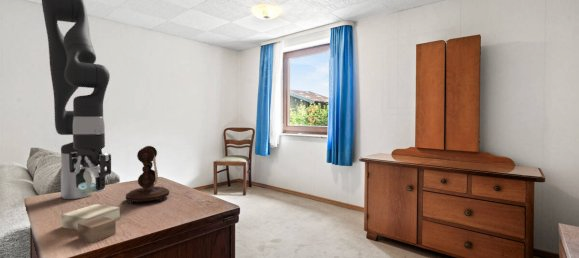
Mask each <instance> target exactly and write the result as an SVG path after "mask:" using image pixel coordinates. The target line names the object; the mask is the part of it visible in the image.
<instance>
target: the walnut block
mask: <svg viewBox="0 0 579 258" xmlns="http://www.w3.org/2000/svg"><path fill="white" fill-rule="evenodd" d="M116 224H117V220H116V221H115V220H114V219H111V218H107V217H103V216H101V217H97V218H94V219H91V220H88V221H84V222H81V223H78V230H77V238H78V239H80V240H83V241H85V242H88V243H94V242H97V241H101V240H102V239H106V238H109V237H110V236H114V235H116V233H117V231H116V230H117V229H116Z"/></svg>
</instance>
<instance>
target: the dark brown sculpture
mask: <svg viewBox="0 0 579 258" xmlns="http://www.w3.org/2000/svg"><path fill="white" fill-rule="evenodd" d="M136 154H137V156H136V157H137V160H138V161H139V162H141V164H142V173H140V175H139V176H138V178H137V183H138V185H139V186H140V187H139V188H138V187H137V188H134V189H132V190H130V191H128V192H127V193H126V194H125V200H127V201H129V203H130V204H131V205H133V203H134V202H148V201H154V200H158V202H159V203H161V202H162V199H163V198H166V197H168V196H169V195H170V190H169V188H166V187H164V186H155V185H156V184H157V182H158V180H159V179H158V178H159V174H158V173H159V172H158V167H157V161H156V157H157V155H158V150H157V149H156V148H155V147H154V146H153V145H146V146H144V147H143V148H140V149H139V150H138V152H137V153H136ZM152 168H154V170H153V169H152Z"/></svg>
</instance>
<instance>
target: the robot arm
mask: <svg viewBox="0 0 579 258" xmlns="http://www.w3.org/2000/svg"><path fill="white" fill-rule="evenodd" d="M41 7H42V12H43V18H44V24H45V28H46V35H47V42H48V44H47V45H48V58H49V68H50V69H49V70H50V77H51V78H50V79H51V84H52V92H53V103H54V105H53V107H54V126H55V131H56V133H57V134H58V135H59V136H60V135H61V136H68V135H69V136H72V142H69V143H66V144H63V145H61V147H60V158H61V159H60V161H61V171H60V174H59V175H60V197H61V198H62V199H64V200H76V199H82V198H86V197H89V196H91V195H92V194H93V193H85V191H83V190H80V189H79V188H78V185H79V184H81V183H84V182H86V180H85V179H84V177H83V175H84V173H85V172H86V171H88V172H89V173H90V175H91V176H92V172H93V174H94V175H95V179H94V180H95V184H96V190H102V189H104V188H105V189H106V176H108V175H111V173H112V154H111V153H105V154H104V153H103V151H102V149H104V148H105V147H106V145H105V144H106V141H105V140H106V137H105V135H106V132H105V121H104V99H105V95H106V92H107V88H108V85H109V83H110V72H109V69H108V68H107V66H105V65H102V64H99V63H96V61H97V55H96V53H95V49H94V46H93V43H92V40H91V35H90V34H91V33H90V25H89V19H88V12H87V7H86V2H85V1H84V0H41ZM58 22H65V23H74V24H73V25H72V26H71V27H70V28H69V29H68V31H66V32H65V35H64V34H63V33H62V31H61V29H60V27H59V23H58ZM79 88H87V89H88V88H89V89H93V91H92V92H91V93H90V94H86V95H79V96H76V97H74V98H73V100H72V101H73V102H72V103H73V104H72V106H73V107H72V108H73V109H72V110H67V109H66V107H67V105H68V102H69V101H70V99H71V97H72V96H73V95H74V94H75V92H76V91H77V90H78V89H79ZM91 183H93V182H91ZM82 188H84V187H82Z"/></svg>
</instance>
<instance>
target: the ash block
mask: <svg viewBox="0 0 579 258" xmlns="http://www.w3.org/2000/svg"><path fill="white" fill-rule="evenodd" d="M120 212H121V209H120V206H111V205H106V204H105V205H104V204H100V203H99V204H98V203H95V204H94V203H93V204H91V205H88V206H85V207H81V208H79V209H75V210H71V211H69V212H68V211H67V212H64V213H62V214H61V227H62V228H65V229H71V230H77V231H78V223H81V222H84V221H88V220H91V219H94V218H97V217H101V216H103V217H107V218H111V219H114V220H115V221H116V222H117V221H119V220H120V219H121V213H120Z"/></svg>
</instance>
